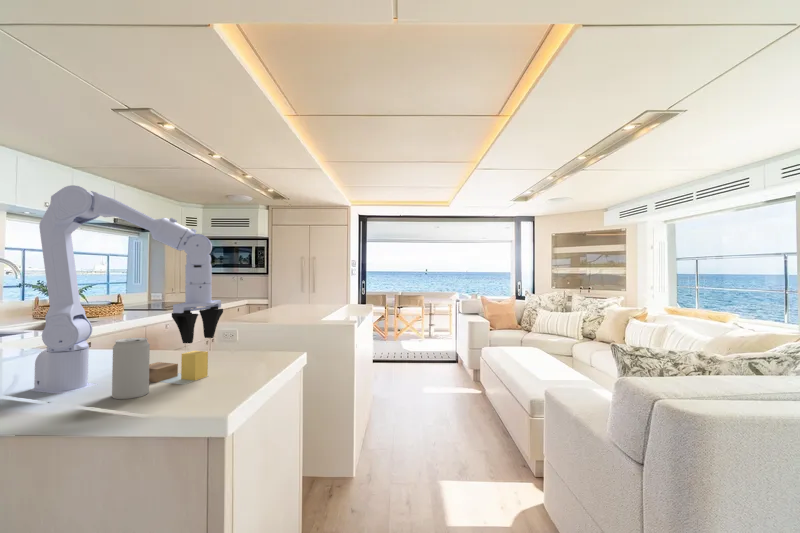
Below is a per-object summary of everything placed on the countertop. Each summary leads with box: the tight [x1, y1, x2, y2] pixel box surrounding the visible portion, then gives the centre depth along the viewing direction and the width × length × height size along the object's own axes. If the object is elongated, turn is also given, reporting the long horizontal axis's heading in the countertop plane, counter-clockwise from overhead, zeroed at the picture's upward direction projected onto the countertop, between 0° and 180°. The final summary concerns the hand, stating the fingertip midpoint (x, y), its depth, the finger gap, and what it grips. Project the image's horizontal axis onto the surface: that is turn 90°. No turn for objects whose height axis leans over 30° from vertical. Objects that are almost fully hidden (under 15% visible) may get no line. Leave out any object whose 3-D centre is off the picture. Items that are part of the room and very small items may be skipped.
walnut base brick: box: [149, 361, 179, 383], centre depth 98 cm, size 6×6×3 cm
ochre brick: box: [180, 350, 209, 381], centre depth 99 cm, size 4×4×6 cm
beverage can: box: [111, 337, 151, 400], centre depth 85 cm, size 6×6×12 cm
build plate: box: [159, 372, 209, 385], centre depth 98 cm, size 12×8×1 cm, turn 74°
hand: (198, 340), depth 99 cm, fingers open, 7 cm apart
